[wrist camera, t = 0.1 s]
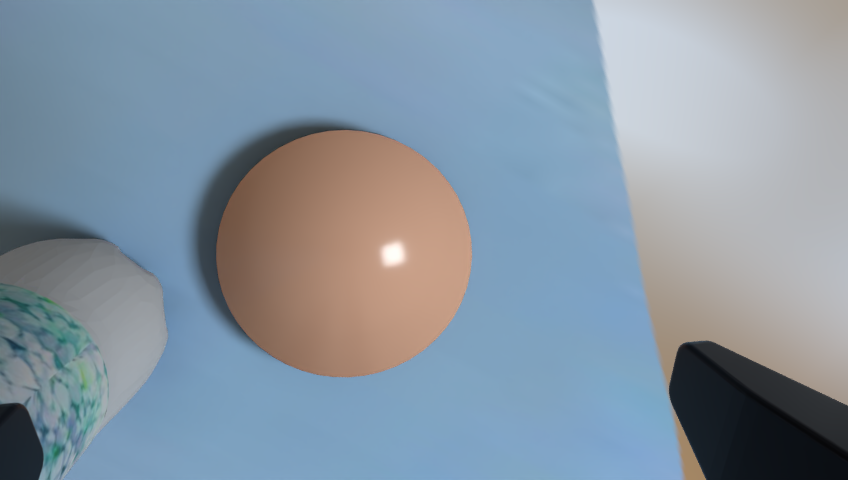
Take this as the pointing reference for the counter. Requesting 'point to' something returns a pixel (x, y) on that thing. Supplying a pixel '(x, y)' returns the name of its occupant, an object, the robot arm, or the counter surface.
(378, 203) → the peach round piece
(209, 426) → the counter surface
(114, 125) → the counter surface
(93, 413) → the bottle
